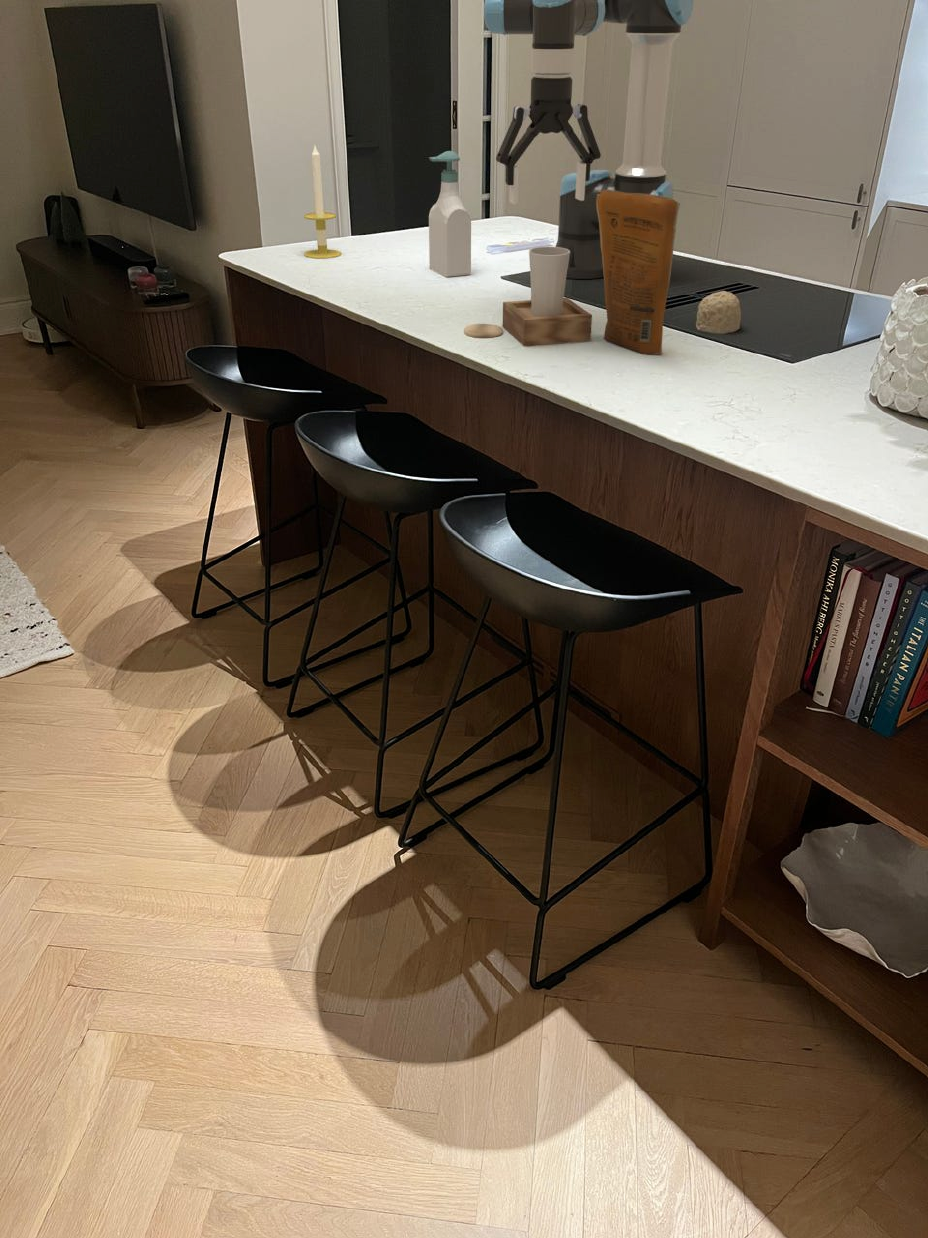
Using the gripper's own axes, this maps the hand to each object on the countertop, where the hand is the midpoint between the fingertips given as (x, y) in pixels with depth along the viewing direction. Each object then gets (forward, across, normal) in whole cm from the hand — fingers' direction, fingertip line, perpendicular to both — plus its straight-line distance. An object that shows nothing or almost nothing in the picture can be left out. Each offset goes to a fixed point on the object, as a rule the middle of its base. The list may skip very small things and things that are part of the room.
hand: (546, 201), depth 186 cm
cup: (+20, +1, +4) cm, 21 cm away
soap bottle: (+25, +6, -53) cm, 59 cm away
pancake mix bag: (+24, -12, +16) cm, 32 cm away
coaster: (+24, +13, 0) cm, 27 cm away
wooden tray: (+24, +1, +4) cm, 25 cm away
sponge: (+25, -35, +10) cm, 44 cm away
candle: (+25, +32, -81) cm, 91 cm away
